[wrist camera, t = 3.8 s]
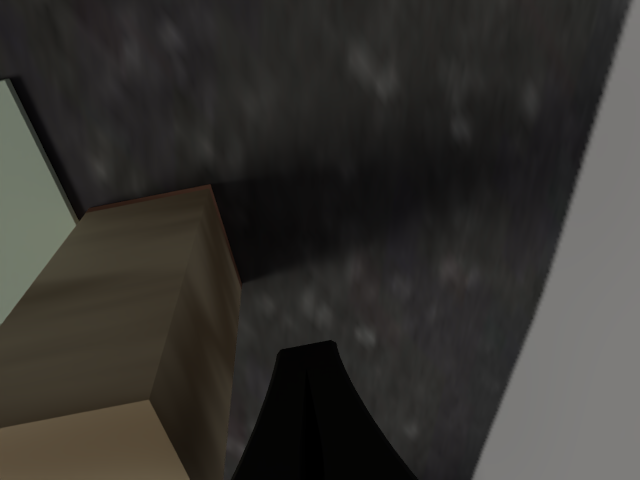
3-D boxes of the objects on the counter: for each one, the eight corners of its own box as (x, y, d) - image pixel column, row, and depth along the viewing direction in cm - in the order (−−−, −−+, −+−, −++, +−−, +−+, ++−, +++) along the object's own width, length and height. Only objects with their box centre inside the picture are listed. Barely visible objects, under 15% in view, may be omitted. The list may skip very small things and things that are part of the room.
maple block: (241, 283, 20) (217, 533, 11) (134, 304, 20) (26, 569, 11) (210, 183, 17) (149, 399, 9) (89, 208, 17) (-91, 445, 9)
